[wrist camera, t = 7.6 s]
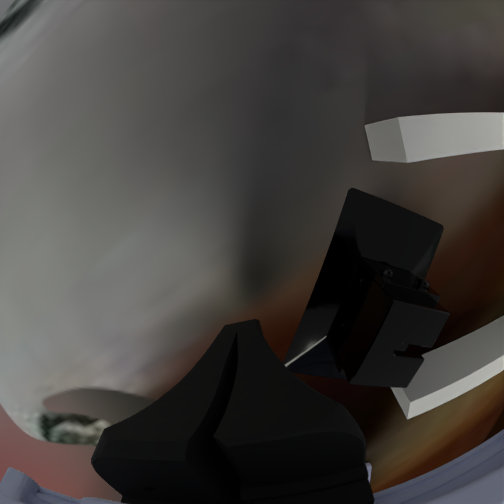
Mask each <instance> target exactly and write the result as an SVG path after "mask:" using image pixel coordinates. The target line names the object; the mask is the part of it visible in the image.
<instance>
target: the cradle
mask: <svg viewBox="0 0 504 504" xmlns="http://www.w3.org/2000/svg"><path fill="white" fill-rule="evenodd" d="M364 126H365V130H366V134H367V139H368V143H369V148H370V152H371V157H372V160H373V161H389V162H402V163H410V162H416V161H422V160H428V159H434V158H441V157H447V156H454V155H461V154H468V153H476V152H484V151H492V150H501V149H504V113H497V112H476V113H445V114H429V115H416V116H405V117H397V118H392V119H388V120H384V121H379V122H375V123H371V124H367V125H364ZM422 357H423V358H424V362H423V363H422V365H421V367H420V368H419V370H418V371H417V373H416V374H415V376H414V377H413V379H412V380H411V382H410V383H409V385H408V386H407V388H395V387H391V389H392V391H393V393H394V395H395V397H396V399H397V401H398V403H399V404H400V406H401V408H402V410H403V412H404V414H405V416H406V418H407V419H410V418H412V417H415V416H417V415H419V414H422V413H424V412H426V411H429V410H431V409H433V408H435V407H437V406H439V405H442V404H444V403H446V402H448V401H450V400H452V399H454V398H456V397H458V396H460V395H461V394H463V393H465V392H467V391H469V390H471V389H473V388H474V387H476V386H478V385H480V384H481V383H483V382H485V381H486V380H488V379H490V378H491V377H493V376H495V375H496V374H498V373H499V372H501V371H503V370H504V315H503V316H502V317H500V318H498V319H496V320H494V321H493V322H491V323H489V324H487V325H485V326H483V327H481V328H479V329H477V330H475V331H473V332H471V333H469V334H467V335H465V336H463V337H461V338H459V339H457V340H455V341H453V342H450V343H448V344H446V345H444V346H441V347H439V348H437V349H435V350H432V351H430V352H427V353H425V354H423V355H422Z"/></svg>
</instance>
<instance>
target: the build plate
mask: <svg viewBox="0 0 504 504" xmlns="http://www.w3.org/2000/svg"><path fill="white" fill-rule="evenodd" d="M443 229H444V228H443V225H441V224H439V223H437V222H435V221H432V220H430V219H428V218H426V217H423V216H421V215H419V214H417V213H414V212H412V211H410V210H407V209H405V208H403V207H400V206H398V205H395V204H393V203H391V202H388V201H386V200H383V199H381V198H378V197H376V196H373V195H371V194H368V193H365V192H363V191H360V190H357V189H355V188H351V189H349V190H348V193H347V196H346V199H345V203H344V206H343V209H342V212H341V215H340V218H339V221H338V223H337V226H336V229H335V232H334V235H333V238H332V241H331V244H330V246H329V249H328V252H327V255H326V257H325V260H324V263H323V266H322V268H321V271H320V274H319V276H318V279H317V282H316V284H315V287H314V289H313V292H312V294H311V297H310V300H309V302H308V305H307V307H306V310H305V312H304V314H303V317H302V319H301V322H300V324H299V327H298V329H297V331H296V334H295V336H294V338H293V341H292V343H291V346H290V348H289V350H288V352H287V355H286V357H285V359H284V362H283V364H284V365H285V366H286V367H287V368H288V369H289V370H290V371H291V372H294V373H301V374H308V375H315V376H322V377H330V378H339V379H347V380H348V382H349V384H354V385H365V386H378V387H395V388H407V386H408V385H409V383H410V382H411V380H412V379H413V377H414V376H415V374H416V373H417V371H418V370H419V368H420V367H421V365H422V363H423V362H424V358H423V357H422V355H421V354H420V353H413V352H405V351H406V349H407V347H408V345H415V346H423V347H430V348H431V347H432V346H433V345H434V343H435V341H436V339H437V338H438V336H439V334H440V332H441V330H442V328H443V327H444V325H445V323H446V321H447V319H448V317H449V315H450V313H449V312H448V311H447V310H446V309H444V308H443V307H442V306H441V305H440V304H439V303H438V301H439V299H440V297H441V296H440V295H439V294H438V293H437V292H435V291H434V290H433V289H432V288H431V287H429V285H430V282H429V281H427V280H425V277H426V274H427V272H428V269H429V267H430V264H431V262H432V259H433V257H434V254H435V252H436V249H437V246H438V244H439V241H440V238H441V235H442V232H443Z"/></svg>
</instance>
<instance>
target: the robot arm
mask: <svg viewBox="0 0 504 504" xmlns="http://www.w3.org/2000/svg"><path fill="white" fill-rule="evenodd" d="M365 459H366V440H365V437H364V435H363V433H362V431H361V429H360V427H359V426H358V424H357V423H356V421H355V420H354V418H353V417H352V416H351V414H350V413H349V412H348V411H347V410H346V408H345V407H344V406H343V405H342V404H340V403H338V402H336V401H334V400H332V399H330V398H328V397H326V396H324V395H322V394H321V393H319V392H317V391H316V390H314V389H312V388H311V387H310V386H308V385H307V384H306V383H304V382H303V381H302V380H300V379H299V378H298V377H296V376H295V375H294V374H293V373H292V372H291V371H290V370H289V369H288V368H287V367H286V366H285V365H284V364H283V363H282V362H281V361H280V360H279V358H278V357H277V356H276V355H275V353H274V352H273V351H272V349H271V348H270V346H269V345H268V343H267V341H266V340H265V338H264V336H263V333H262V329H261V325H260V322H259V320H257V319H253V320H248V321H243V322H239V323H234V324H229V325H225V326H224V327H223V329H222V330H221V332H220V333H219V334H218V336H217V337H216V339H215V340H214V342H213V343H212V344H211V346H210V347H209V349H208V350H207V351H206V353H205V354H204V355H203V356H202V358H201V359H200V360H199V361H198V362H197V364H196V365H195V366H194V367H193V368H192V370H191V371H190V372H189V373H188V374H187V375H186V376H185V377H184V378H183V379H182V380H181V381H180V382H179V383H178V384H177V385H175V386H174V387H173V388H172V389H171V390H170V391H168V392H167V393H166V394H164V395H163V396H162V397H161V398H159V399H158V400H157V401H155V402H154V403H153V404H151V405H149V406H148V407H146V408H145V409H143V410H142V411H140V412H138V413H136V414H135V415H133V416H131V417H129V418H127V419H125V420H123V421H121V422H119V423H117V424H114V425H112V426H110V427H108V428H105V429H104V431H103V433H102V435H101V437H100V440H99V442H98V444H97V447H96V449H95V451H94V454H93V456H92V458H91V464H92V465H93V468H94V469H95V471H96V472H97V473H98V474H99V476H100V477H102V478H103V479H104V480H105V481H106V482H107V483H108V484H109V485H110V486H112V487H113V488H114V489H115V490H116V491H118V492H119V493H120V494H121V495H122V499H121V503H120V502H115V501H110V500H105V499H101V498H92V497H85V498H82V499H81V500H79V499H76V498H73V497H69V496H66V495H63V494H60V493H57V492H54V491H51V490H49V489H46V488H43V487H41V486H39V485H38V484H37V483H36V482H35V481H34V480H33V479H32V478H30V477H29V476H27V475H26V474H24V473H22V472H20V471H18V470H16V469H13V468H11V467H9V468H8V470H7V472H6V473H5V475H4V477H3V479H2V481H1V483H0V504H504V430H502V431H501V432H499V433H498V434H496V435H495V436H493V437H492V438H490V439H489V440H487V441H486V442H484V443H482V444H481V445H479V446H477V447H476V448H474V449H472V450H471V451H469V452H467V453H465V454H464V455H462V456H460V457H458V458H456V459H454V460H453V461H451V462H449V463H447V464H445V465H443V466H441V467H439V468H437V469H434V470H432V471H430V472H428V473H426V474H424V475H421V476H419V477H417V478H414V479H412V480H409V481H407V482H404V483H402V484H399V485H397V486H394V487H391V488H389V489H386V490H383V491H380V492H377V493H374V494H373V493H372V490H371V486H370V477H371V469H372V466H371V463H365Z"/></svg>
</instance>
